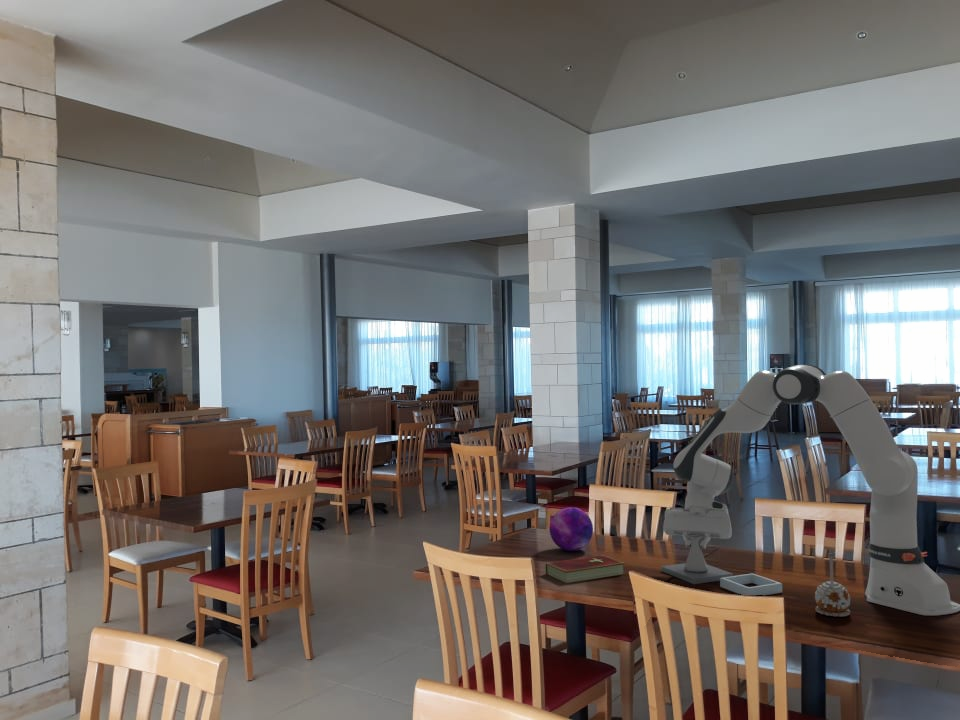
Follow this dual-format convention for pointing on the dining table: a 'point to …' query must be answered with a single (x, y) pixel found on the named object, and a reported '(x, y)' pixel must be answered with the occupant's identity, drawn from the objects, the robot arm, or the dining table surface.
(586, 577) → the hardcover book
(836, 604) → the decorative ornament
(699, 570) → the flask
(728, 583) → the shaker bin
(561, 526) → the decorative orb
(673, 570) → the slate board
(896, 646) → the dining table surface
